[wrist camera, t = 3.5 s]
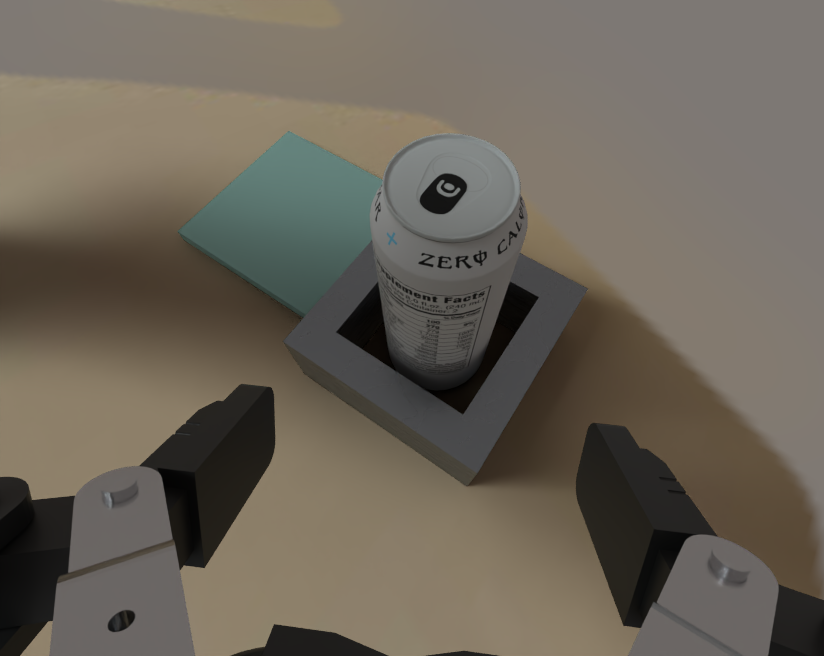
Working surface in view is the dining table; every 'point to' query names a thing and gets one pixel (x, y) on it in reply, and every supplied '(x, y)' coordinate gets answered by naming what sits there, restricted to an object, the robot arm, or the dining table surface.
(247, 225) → the mat
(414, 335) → the energy drink can
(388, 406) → the collar block
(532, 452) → the dining table surface
